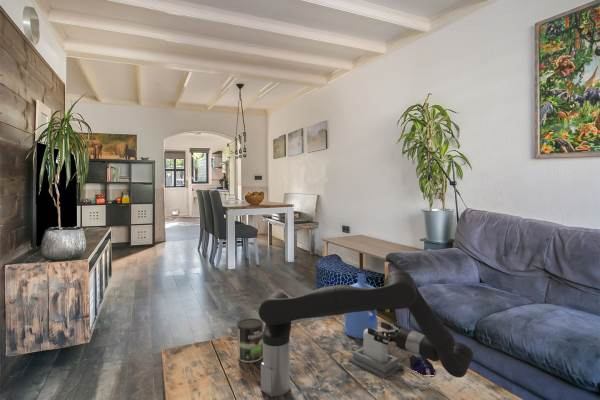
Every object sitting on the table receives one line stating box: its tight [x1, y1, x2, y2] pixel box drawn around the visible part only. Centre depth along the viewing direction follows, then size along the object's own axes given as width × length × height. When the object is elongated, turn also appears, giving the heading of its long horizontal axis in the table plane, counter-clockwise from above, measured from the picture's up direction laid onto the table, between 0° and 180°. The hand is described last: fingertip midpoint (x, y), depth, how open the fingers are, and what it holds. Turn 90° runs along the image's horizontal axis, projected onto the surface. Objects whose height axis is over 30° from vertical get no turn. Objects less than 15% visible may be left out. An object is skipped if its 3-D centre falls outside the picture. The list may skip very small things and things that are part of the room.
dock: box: [347, 346, 403, 380], centre depth 140 cm, size 12×17×4 cm
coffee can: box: [236, 318, 264, 364], centre depth 146 cm, size 10×10×14 cm
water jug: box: [343, 273, 379, 340], centre depth 168 cm, size 16×16×28 cm
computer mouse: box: [409, 354, 436, 376], centre depth 138 cm, size 9×15×4 cm, turn 7°
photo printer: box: [362, 329, 389, 364], centre depth 139 cm, size 10×4×12 cm, turn 40°
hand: (374, 327), depth 139 cm, fingers open, 8 cm apart
